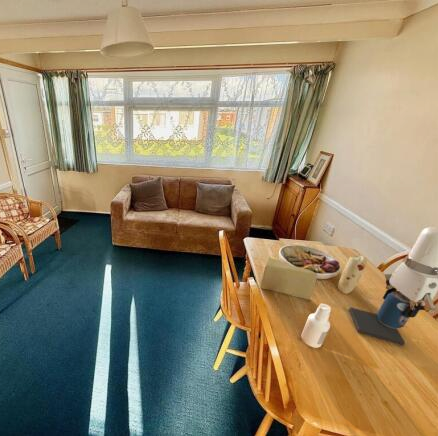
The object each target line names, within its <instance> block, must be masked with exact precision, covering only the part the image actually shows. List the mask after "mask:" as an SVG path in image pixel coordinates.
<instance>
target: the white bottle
mask: <svg viewBox="0 0 438 436" xmlns="http://www.w3.org/2000/svg"><path fill="white" fill-rule="evenodd" d="M331 312H332V308H331V306H330V305H328V304H326V303H319V306H318V307H317V308H316V310H315V312H314V313H310V314H309V315H308V317H307V319H306V321H305V325H304V326H303V329H302V331H301V335H300V337H301V340H302V342H303V343H304V344H306V345H307V346H309V347H311V348H315V349H316V348H317V349H318V348H321V346H322V345H323V343H324V340H325V339H326V337H327V334H328V332H329V330H330V328H331V322H330V321H329V317H330V315H331Z"/></svg>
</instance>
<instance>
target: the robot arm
mask: <svg viewBox="0 0 438 436" xmlns="http://www.w3.org/2000/svg"><path fill="white" fill-rule="evenodd" d="M384 278H385V284H386V286H385V289H386V291H385V292H384V295H383V296H382V299H383V301H384V300H385V299H386V297H387V295H388V294H389V293H392V292H393V291H400V292H401V293H402V294H403V295H405V296H406V297H407V298H409V299H410V307H407V308H406V310H405V311H404V313H403V316H404V317H409V318H415V317H416V316H417V315H418V313H419V312H420V311H435V310H436V306H435V303H434V302H433V300H434V299H435V297H436V295H437V293H438V227H437V226H429V227H425V228H423V229H422V230H421V232H420V233H419V235H418V237H417V239H416V241H415V242H414V245H413V246H412V247H411V250H410V252H409V253H408V255H407V257H406V259H405V260H403V261H402V262H401V263H399V265H398V266H397V267H396V268H395V270H394V271H393V273H385V274H384Z"/></svg>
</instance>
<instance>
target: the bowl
mask: <svg viewBox="0 0 438 436" xmlns="http://www.w3.org/2000/svg"><path fill="white" fill-rule="evenodd" d="M278 257H279V261H281V262H284V263H286V264H290V265H293V266H296V267H299V268H303V269H306V270H310V271H313V272H315V273H316V274H317V278H316V280H327V279H331V278H335V277H336V276H337V275H338V274H339V273H340V271H341V265H340V262H339V261H337V259H336V258H334V257H333V256H331V255H330V254H328V253H326V252H324V251H322V250H319V249H317V248H315V247H310V246H306V245H301V244H288V245H284V246H282V247H281V248H280V249H279V252H278Z"/></svg>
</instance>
